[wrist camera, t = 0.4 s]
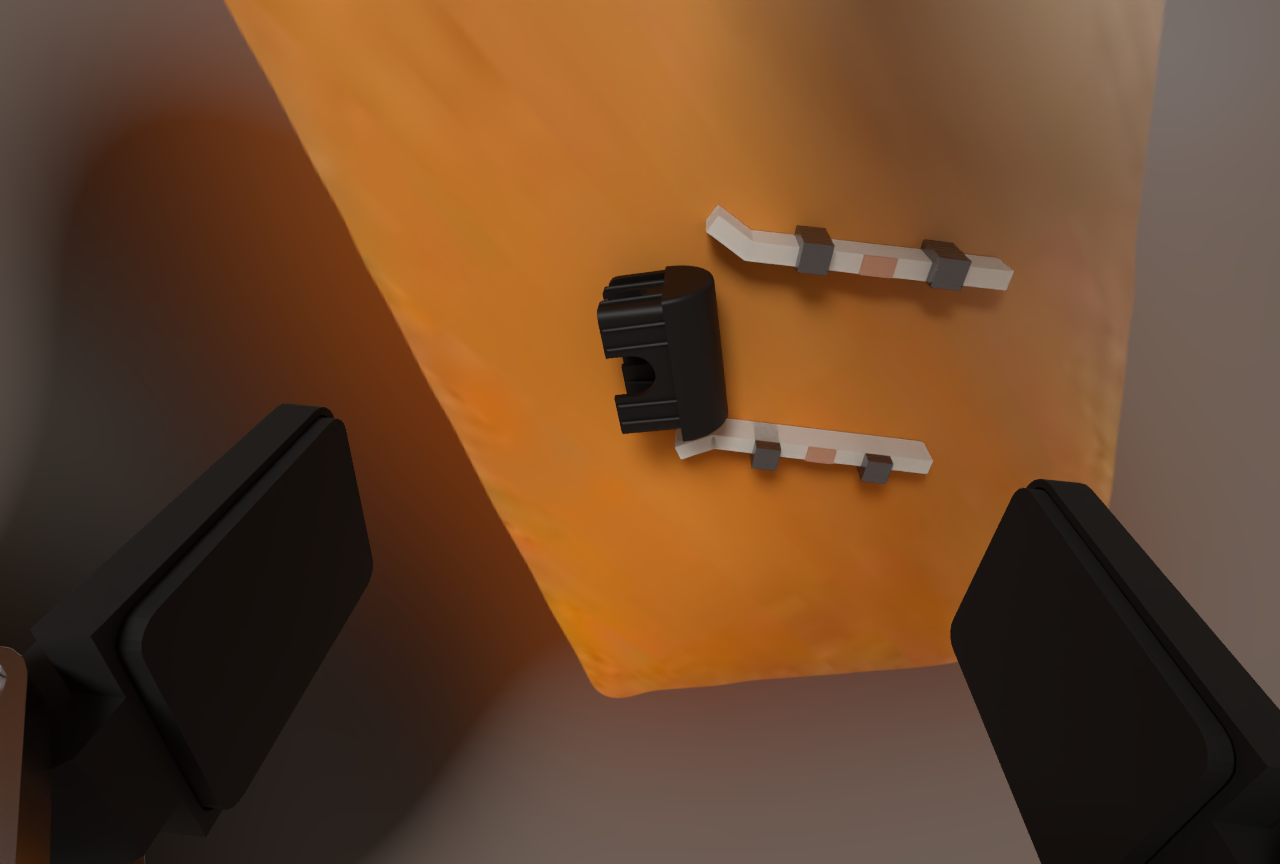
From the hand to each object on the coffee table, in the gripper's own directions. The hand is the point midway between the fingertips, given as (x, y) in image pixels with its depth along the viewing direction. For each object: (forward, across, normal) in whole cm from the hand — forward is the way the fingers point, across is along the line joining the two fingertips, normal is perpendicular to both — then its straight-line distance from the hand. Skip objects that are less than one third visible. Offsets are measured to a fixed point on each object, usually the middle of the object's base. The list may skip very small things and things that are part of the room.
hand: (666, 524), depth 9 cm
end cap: (+35, 0, +12) cm, 37 cm away
